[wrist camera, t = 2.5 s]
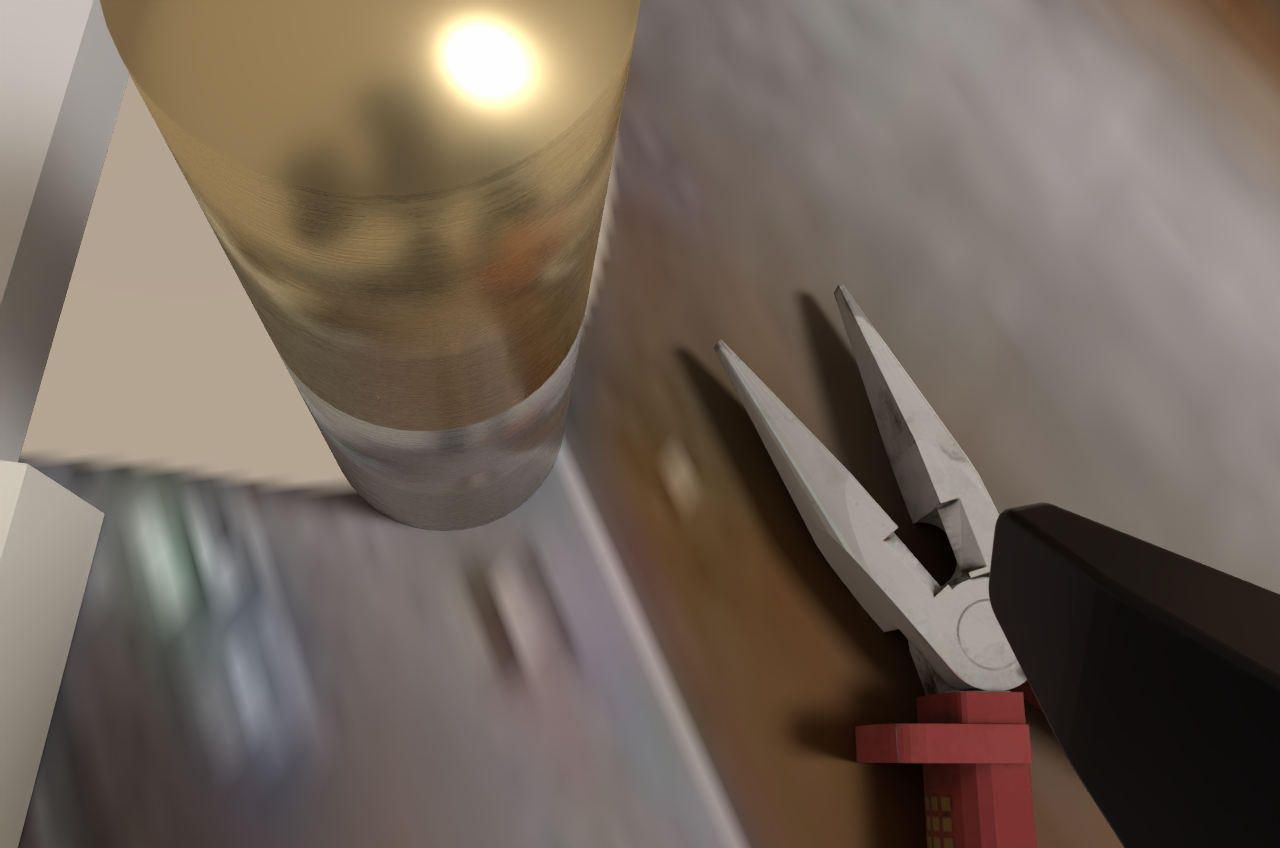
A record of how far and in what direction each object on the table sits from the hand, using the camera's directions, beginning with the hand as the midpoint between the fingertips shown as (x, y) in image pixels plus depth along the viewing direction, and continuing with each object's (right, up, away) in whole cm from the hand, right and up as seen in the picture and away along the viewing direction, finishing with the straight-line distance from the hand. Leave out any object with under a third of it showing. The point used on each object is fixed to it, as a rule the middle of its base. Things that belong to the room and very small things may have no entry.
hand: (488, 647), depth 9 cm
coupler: (-2, +2, +12) cm, 13 cm away
